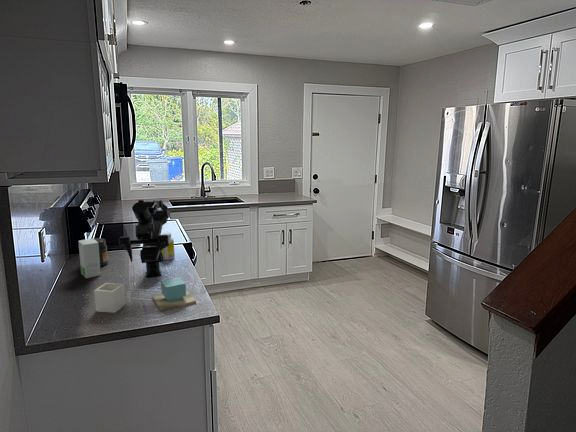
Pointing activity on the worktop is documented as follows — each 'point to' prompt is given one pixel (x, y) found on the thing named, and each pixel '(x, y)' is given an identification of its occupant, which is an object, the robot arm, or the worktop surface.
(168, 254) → the supplement bottle
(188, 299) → the oak board
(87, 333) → the worktop surface
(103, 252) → the supplement container
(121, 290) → the cream storage box
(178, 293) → the aqua cube
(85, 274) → the skincare box
